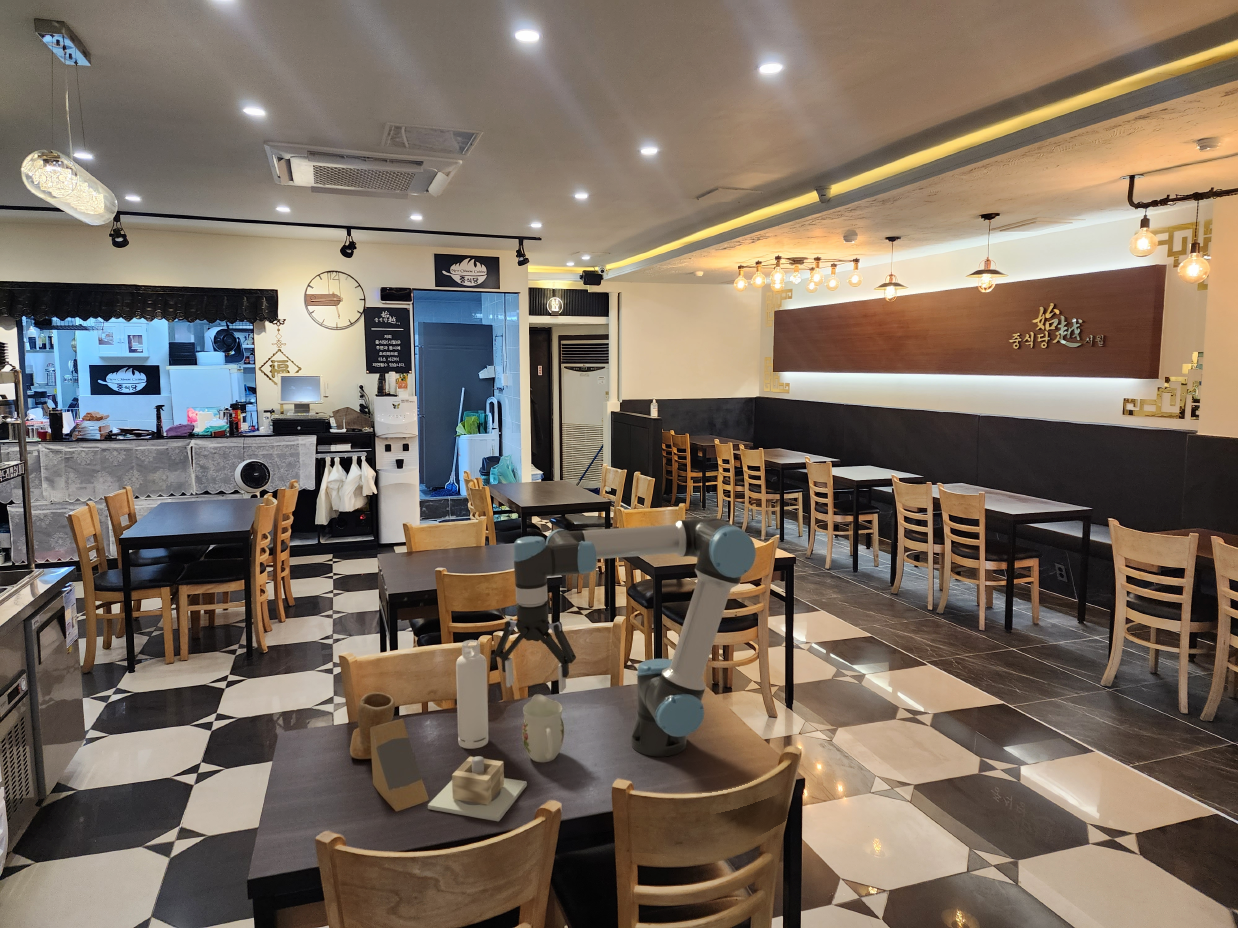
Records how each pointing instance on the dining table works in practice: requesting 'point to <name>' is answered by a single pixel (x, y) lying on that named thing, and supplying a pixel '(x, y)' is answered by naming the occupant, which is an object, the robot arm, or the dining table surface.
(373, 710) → the tan boot
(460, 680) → the bottle
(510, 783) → the post stand
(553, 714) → the pitcher
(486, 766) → the collar
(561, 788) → the dining table surface
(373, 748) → the sandwich container
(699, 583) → the robot arm
